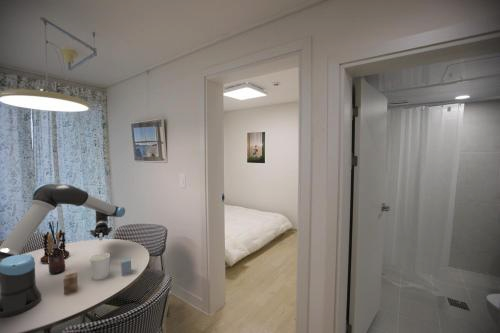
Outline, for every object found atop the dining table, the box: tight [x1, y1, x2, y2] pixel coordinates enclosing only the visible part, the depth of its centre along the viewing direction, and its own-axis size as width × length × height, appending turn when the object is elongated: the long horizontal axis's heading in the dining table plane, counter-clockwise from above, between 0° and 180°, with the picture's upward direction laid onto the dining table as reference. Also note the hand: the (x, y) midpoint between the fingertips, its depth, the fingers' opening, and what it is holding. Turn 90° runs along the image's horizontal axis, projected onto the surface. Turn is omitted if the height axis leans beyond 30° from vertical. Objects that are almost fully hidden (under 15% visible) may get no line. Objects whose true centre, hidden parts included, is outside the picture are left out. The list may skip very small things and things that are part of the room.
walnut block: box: [63, 272, 78, 295], centre depth 116 cm, size 5×5×8 cm
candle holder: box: [89, 252, 111, 281], centre depth 129 cm, size 10×10×12 cm
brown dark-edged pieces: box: [40, 229, 70, 265], centre depth 149 cm, size 15×15×20 cm
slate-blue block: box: [120, 257, 132, 276], centre depth 133 cm, size 5×5×8 cm
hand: (100, 238), depth 138 cm, fingers closed
